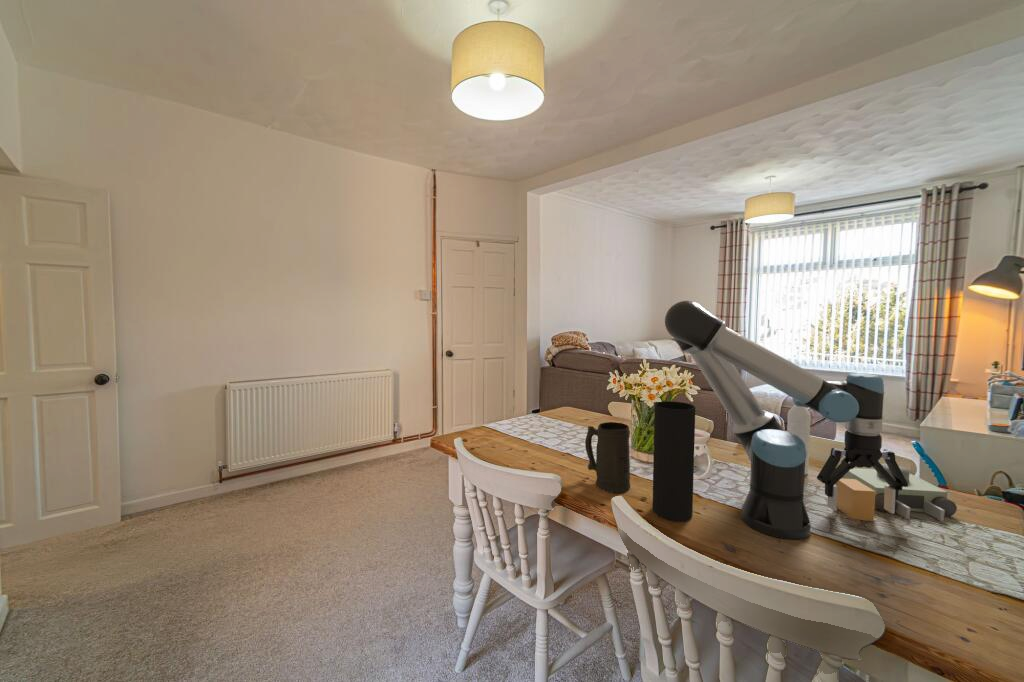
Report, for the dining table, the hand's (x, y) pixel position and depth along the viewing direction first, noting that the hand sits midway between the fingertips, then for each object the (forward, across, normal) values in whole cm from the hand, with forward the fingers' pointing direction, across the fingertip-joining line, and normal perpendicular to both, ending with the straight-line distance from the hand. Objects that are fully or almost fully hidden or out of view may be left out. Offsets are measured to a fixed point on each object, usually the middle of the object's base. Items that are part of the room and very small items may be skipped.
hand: (860, 509), depth 110 cm
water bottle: (+2, 0, +32) cm, 32 cm away
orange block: (+2, 0, +2) cm, 3 cm away
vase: (+1, -49, -6) cm, 50 cm away
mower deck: (+2, +16, +12) cm, 20 cm away
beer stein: (+1, -66, +10) cm, 67 cm away
